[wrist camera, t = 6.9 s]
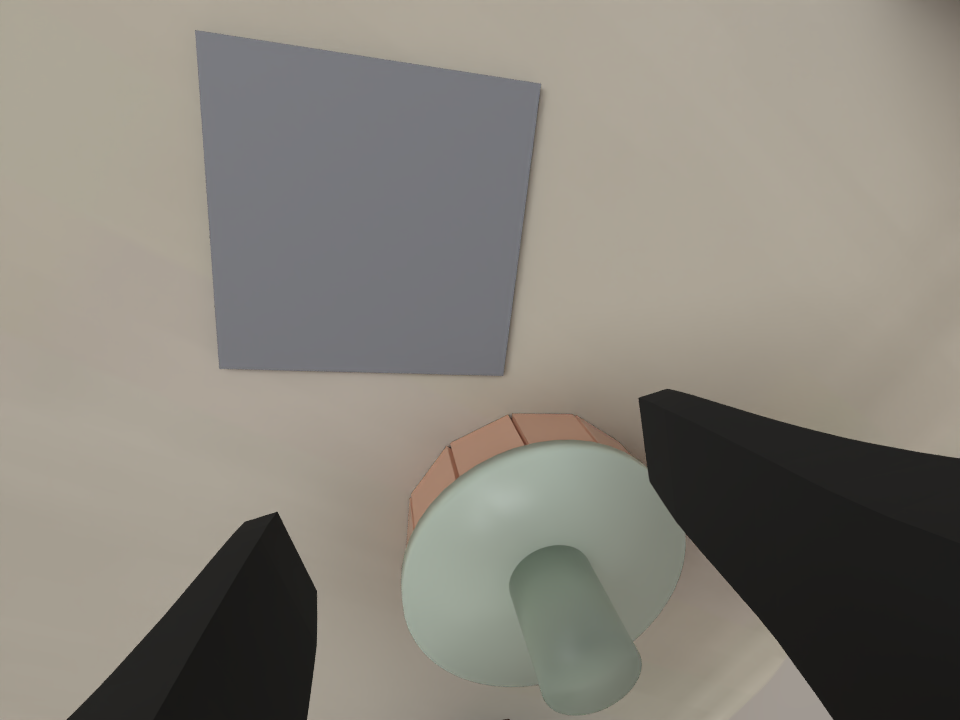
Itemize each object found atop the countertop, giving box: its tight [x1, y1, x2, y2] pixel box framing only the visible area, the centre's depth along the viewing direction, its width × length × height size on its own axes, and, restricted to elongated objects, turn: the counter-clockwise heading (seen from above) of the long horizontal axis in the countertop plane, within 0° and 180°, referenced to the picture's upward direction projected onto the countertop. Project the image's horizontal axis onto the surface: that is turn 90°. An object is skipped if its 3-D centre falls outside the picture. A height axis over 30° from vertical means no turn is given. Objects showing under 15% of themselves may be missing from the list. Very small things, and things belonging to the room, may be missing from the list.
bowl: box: [406, 414, 630, 547], centre depth 21 cm, size 10×10×3 cm
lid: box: [401, 440, 686, 716], centre depth 18 cm, size 11×11×5 cm
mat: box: [195, 30, 541, 376], centre depth 17 cm, size 10×10×1 cm
